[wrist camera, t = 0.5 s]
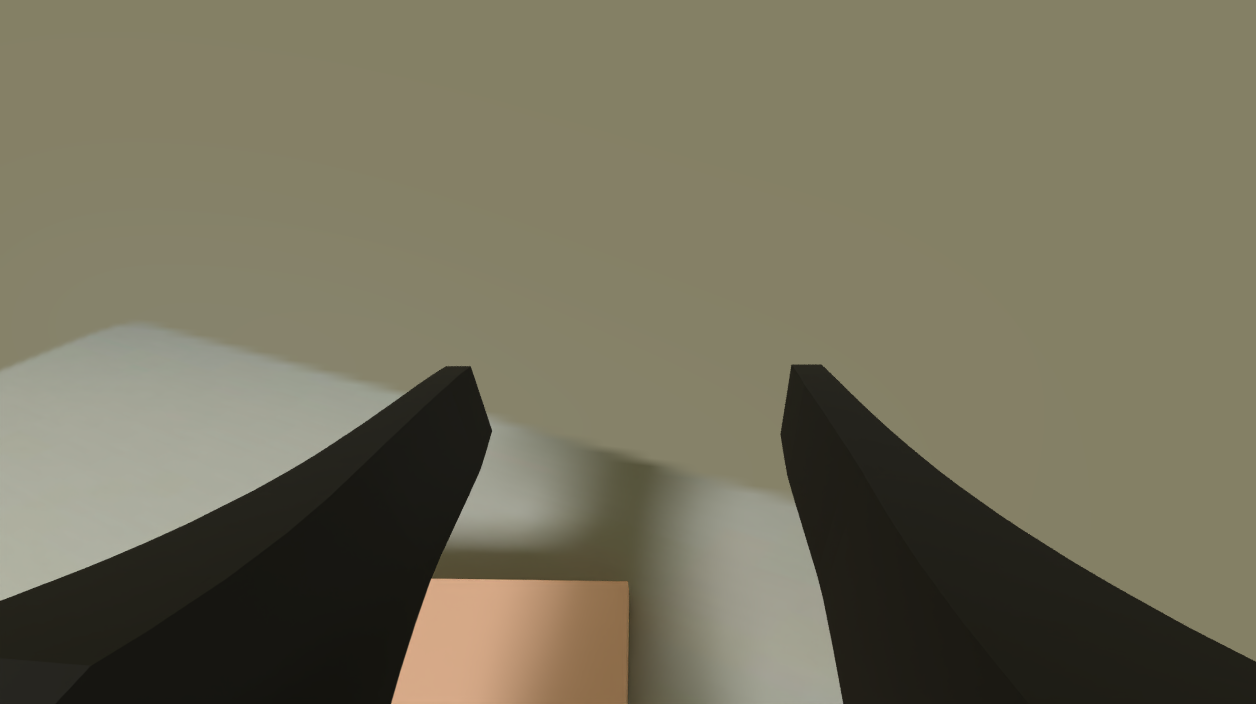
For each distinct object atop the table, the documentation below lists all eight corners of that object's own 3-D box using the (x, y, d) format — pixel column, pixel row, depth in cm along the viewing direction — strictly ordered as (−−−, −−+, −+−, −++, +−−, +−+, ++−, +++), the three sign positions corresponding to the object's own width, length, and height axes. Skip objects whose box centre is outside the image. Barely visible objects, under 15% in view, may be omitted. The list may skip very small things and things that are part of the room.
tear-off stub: (627, 728, 21) (625, 728, 19) (285, 719, 21) (244, 719, 19) (629, 594, 24) (627, 581, 22) (334, 589, 25) (305, 576, 23)
